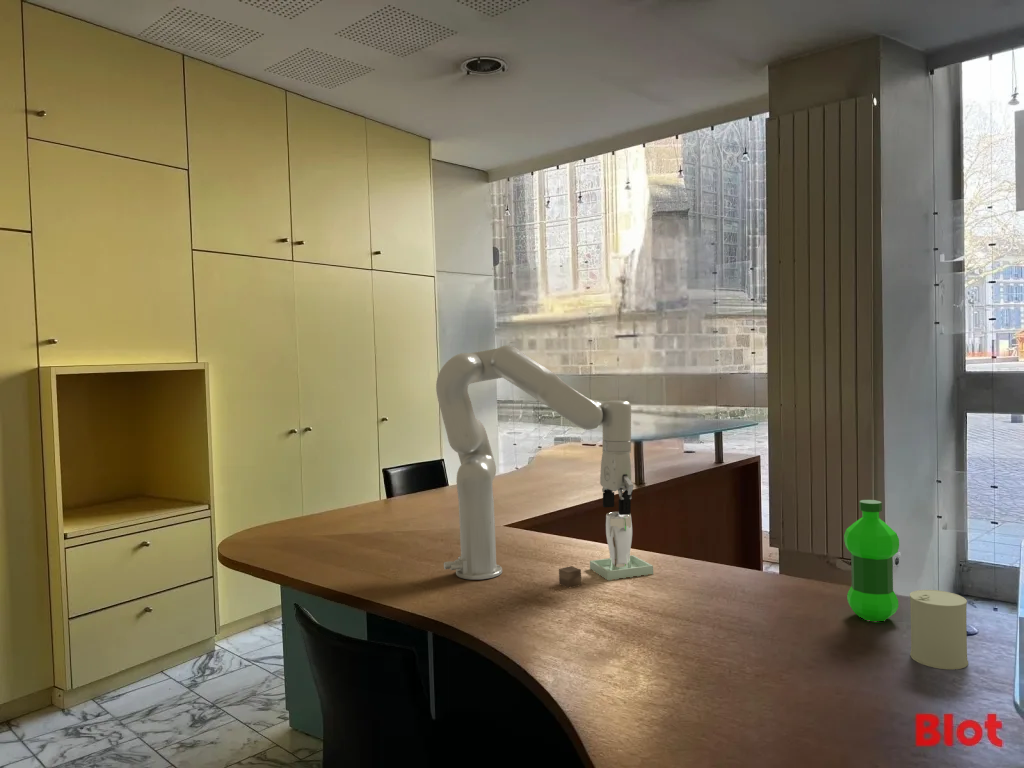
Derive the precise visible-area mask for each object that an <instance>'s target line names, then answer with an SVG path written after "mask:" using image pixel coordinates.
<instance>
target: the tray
mask: <svg viewBox="0 0 1024 768" xmlns="http://www.w3.org/2000/svg"><path fill="white" fill-rule="evenodd" d="M630 562H631V567H632V568H626V569H619V570H611V571H610V570H609V564H610V557H609V558H599V559H595V560H594V559H593V560H589V569H590V570H591V569H592V570H593V571H592V570H591V571H592V572H594V571H595V572H596V573H595V572H594V573H595V574H597V573H598V574H599V575H598V574H597V575H598V576H600V575H601V576H602V578H603V577H604V578H605V579H604V578H603V579H604V580H606V579H607V580H608V581H613V580H612V579H615V580H620V579H619V578H623V579H627V578H626V577H630V578H634V577H633V576H637V577H642V576H641V575H644V576H649V575H648V574H652V575H654V565H652V564H651V563H649V562H647V561H645V560H644V559H641V558H639V557H638V556H636V555H634V554H633V555H631V554H630ZM601 576H600V577H601ZM607 580H606V581H607Z"/></svg>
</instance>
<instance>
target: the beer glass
mask: <svg viewBox="0 0 1024 768" xmlns="http://www.w3.org/2000/svg"><path fill="white" fill-rule="evenodd" d="M605 535H606V542H607V547H608V551H609V558H610V564H609V570H610V571H611V570H619V569H626V568H632V567H631V562H630V556H631V547H632V541H633V523H632V513H630V514H627V515H620V514H619V511H612V512H607V513H606V515H605Z"/></svg>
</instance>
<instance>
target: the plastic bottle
mask: <svg viewBox="0 0 1024 768" xmlns="http://www.w3.org/2000/svg"><path fill="white" fill-rule="evenodd" d="M858 503H859V511H861V513H862V516H861V517H860V518H858V519H857V520H856V521H854V522H853V523H852V524H851V525H849V526H848V527H847V528H846V529H845V532H844V534H843V541H844V544H845V548H846V549H847V550H848V552H849V553H850V557H851V558H850V560H851V561H850V563H851V564H850V565H851V567H850V568H851V569H850V570H851V572H850V573H851V586H850V588H849V590H848V591H847V594H846V597H847V598H846V599H847V603H848V605H849V607H850V608H851V610H852V612H853V613H854V614H856V616H858V617H859V618H860V617H861V618H863V619H865V620H870V621H884V620H886V619H889V618H891V617H892V616H893V615H894V614H895V613H896V612H897V611H898V609H899V600H898V597H897V595H896V593H895V592H894V576H893V575H894V573H893V571H894V569H893V557H894V556H895V555H897V553H898V552H899V549H900V538H899V536H898V534H897V532H896V531H895V530H893V529H892V528H891V527H890V526H889V525H888V524H887V523H886V522H885V521H884V520H882V519H881V518H880V512H883V506H882V505H883V502H882V501H880V500H876V499H861V500H859V502H858ZM861 618H860V619H861ZM863 619H862V620H863ZM865 620H864V621H865ZM886 621H887V620H886ZM884 622H885V621H884Z"/></svg>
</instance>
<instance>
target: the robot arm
mask: <svg viewBox="0 0 1024 768" xmlns="http://www.w3.org/2000/svg"><path fill="white" fill-rule="evenodd" d="M501 378H502V379H504V380H506V381H507V382H509V383H511V384H513V385H514V386H515V387H517V388H519V389H520V390H521V391H523V392H525V393H526V394H528V395H529V396H531V397H532V398H534V399H536V400H537V401H538V403H541V404H543V405H545V406H547V407H548V408H549V409H551V410H552V411H554V412H555V413H557V414H558V415H560V416H561V417H563V418H565V419H566V420H567V421H569V422H571V423H572V424H574V425H575V426H577V427H579V428H581V429H582V430H586V431H587V430H589V431H591V430H594V429H596V428H598V427H599V426H602V454H601V461H600V476H599V477H600V479H599V481H600V483H599V484H600V486H601V487H602V488H601V492H602V507H603V508H614V507H615V492H618V496H619V499H618V512H619V514H620V515H627V514H632V513H631V512H632V511H631V510H632V509H631V508H632V507H631V505H632V504H631V503H632V502H631V501H632V499H633V498H632V495H633V489H634V483H632V463H631V453H632V405H631V403H630V402H629V401H627V400H619V399H618V400H616V399H615V400H614V399H613V400H611V399H610V400H599V399H598V400H597V399H591V398H588V397H586V396H585V395H583V394H582V393H580V392H579V391H577V390H575V389H574V388H573V387H572V386H570V385H568V384H567V383H566V382H564V380H562V379H561V378H560V377H559V376H558V375H557V374H556V373H555V372H553V371H552V370H550V369H549V368H548V367H545V366H544V365H543V364H540V363H539V362H538V361H536V360H534V359H533V358H531V357H530V356H528V355H527V354H526V353H524V352H522V351H521V350H519V348H517V347H516V346H513V345H510V344H509V345H502V346H500V347H496V348H492V349H488V350H482V351H475V352H462V353H457V354H455V355H453V356H452V357H451V358H449V359H448V360H447V361H446V362H445V364H443V366H442V367H441V369H440V370H439V372H438V375H437V377H436V381H435V382H436V384H435V385H436V386H435V388H436V389H435V391H436V397H437V398H436V399H437V401H438V404H439V408H440V411H441V412H440V413H441V417H442V421H443V425H444V428H445V432H446V436H447V441H448V443H449V446H450V447H451V449H452V450H453V451H454V452H456V453H457V455H458V456H457V457H458V459H459V462H460V465H459V467H458V470H457V473H456V490H457V499H458V514H459V515H458V517H459V535H460V536H459V537H460V539H459V540H460V541H459V543H460V556H457V557H458V559H455V560H454V561H444V562H443V569H444V570H450V571H455V575H456V576H457V577H458V578H460V579H465V580H471V581H472V580H474V581H475V580H479V581H480V580H488V579H492V578H496V577H498V576H500V575H501V574H502V573H503V567H502V566H501V565H500V564H498V563H497V547H496V545H497V544H496V523H495V522H496V521H495V519H496V518H495V504H494V503H495V501H494V490H493V489H494V488H493V487H494V485H493V482H494V479H495V476H496V473H497V466H496V462H495V458H494V454H493V452H492V448H491V445H490V441H489V438H488V434H487V431H486V428H485V426H484V424H483V423H482V422H481V421H480V420H479V419H478V418H476V415H475V413H474V409H473V405H472V401H471V398H470V396H469V392H468V391H469V390H468V388H469V385H470V384H471V385H472V384H475V383H480V382H486V381H491V380H497V379H501Z"/></svg>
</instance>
